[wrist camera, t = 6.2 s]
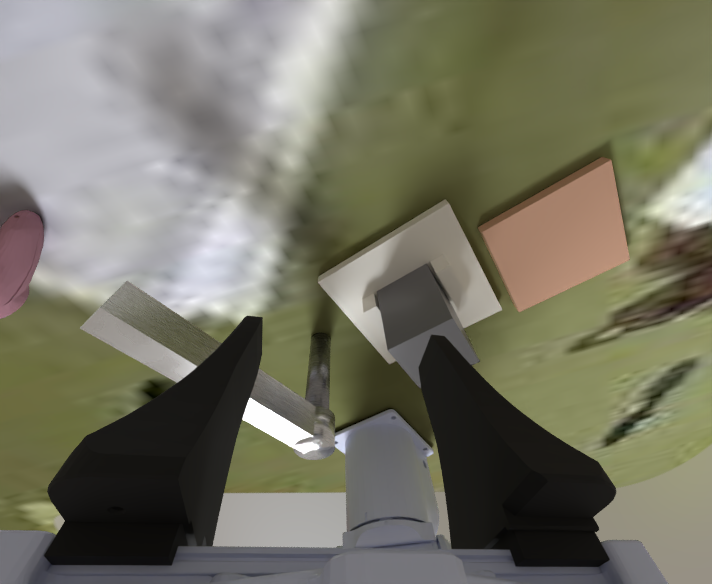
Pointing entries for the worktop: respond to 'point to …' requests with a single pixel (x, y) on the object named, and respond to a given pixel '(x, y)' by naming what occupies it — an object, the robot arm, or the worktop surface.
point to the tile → (559, 236)
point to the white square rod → (189, 349)
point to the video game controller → (18, 258)
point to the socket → (389, 263)
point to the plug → (419, 319)
